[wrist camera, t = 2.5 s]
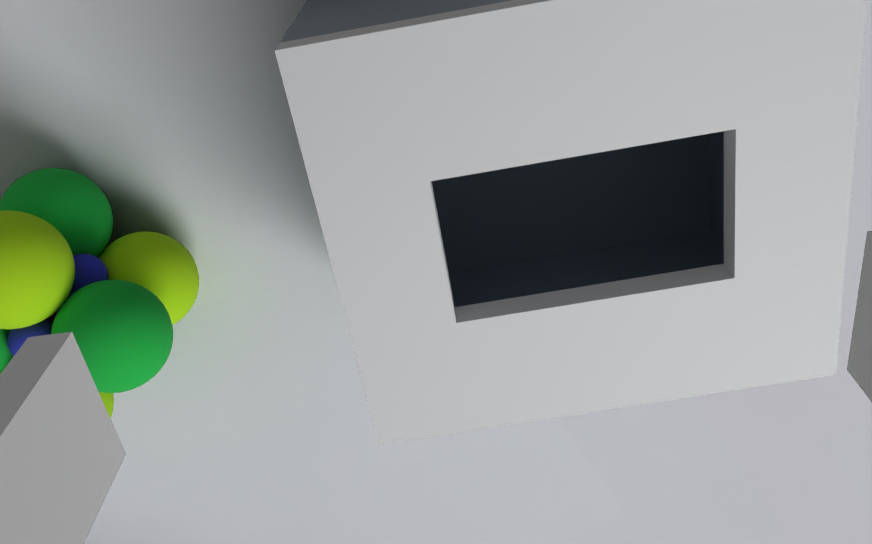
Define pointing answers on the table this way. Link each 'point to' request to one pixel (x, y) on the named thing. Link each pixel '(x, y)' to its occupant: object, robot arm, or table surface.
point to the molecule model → (88, 280)
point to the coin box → (577, 197)
